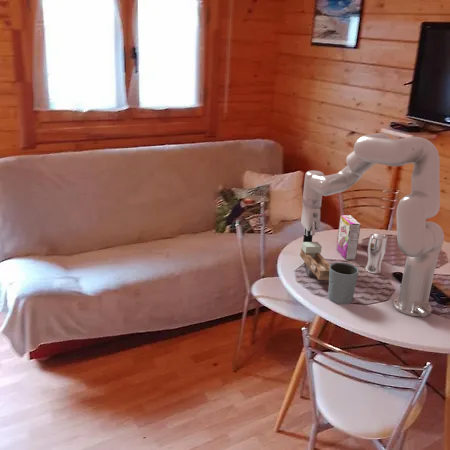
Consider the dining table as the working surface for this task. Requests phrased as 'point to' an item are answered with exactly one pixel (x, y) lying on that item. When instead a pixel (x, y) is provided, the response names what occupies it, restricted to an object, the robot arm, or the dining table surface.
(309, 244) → the block
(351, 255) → the candy bar box
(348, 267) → the grey green cup
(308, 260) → the brown long open box
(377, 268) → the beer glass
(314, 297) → the dining table surface
